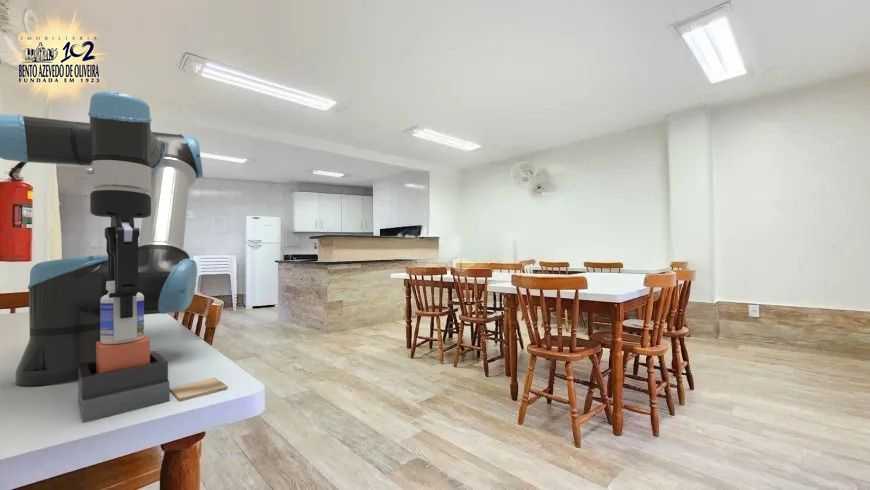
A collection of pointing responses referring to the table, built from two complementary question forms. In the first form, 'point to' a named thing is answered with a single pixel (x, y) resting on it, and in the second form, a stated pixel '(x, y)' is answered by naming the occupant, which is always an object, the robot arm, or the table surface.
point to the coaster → (197, 389)
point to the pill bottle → (108, 317)
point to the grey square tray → (122, 388)
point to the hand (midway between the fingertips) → (122, 335)
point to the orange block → (122, 355)
